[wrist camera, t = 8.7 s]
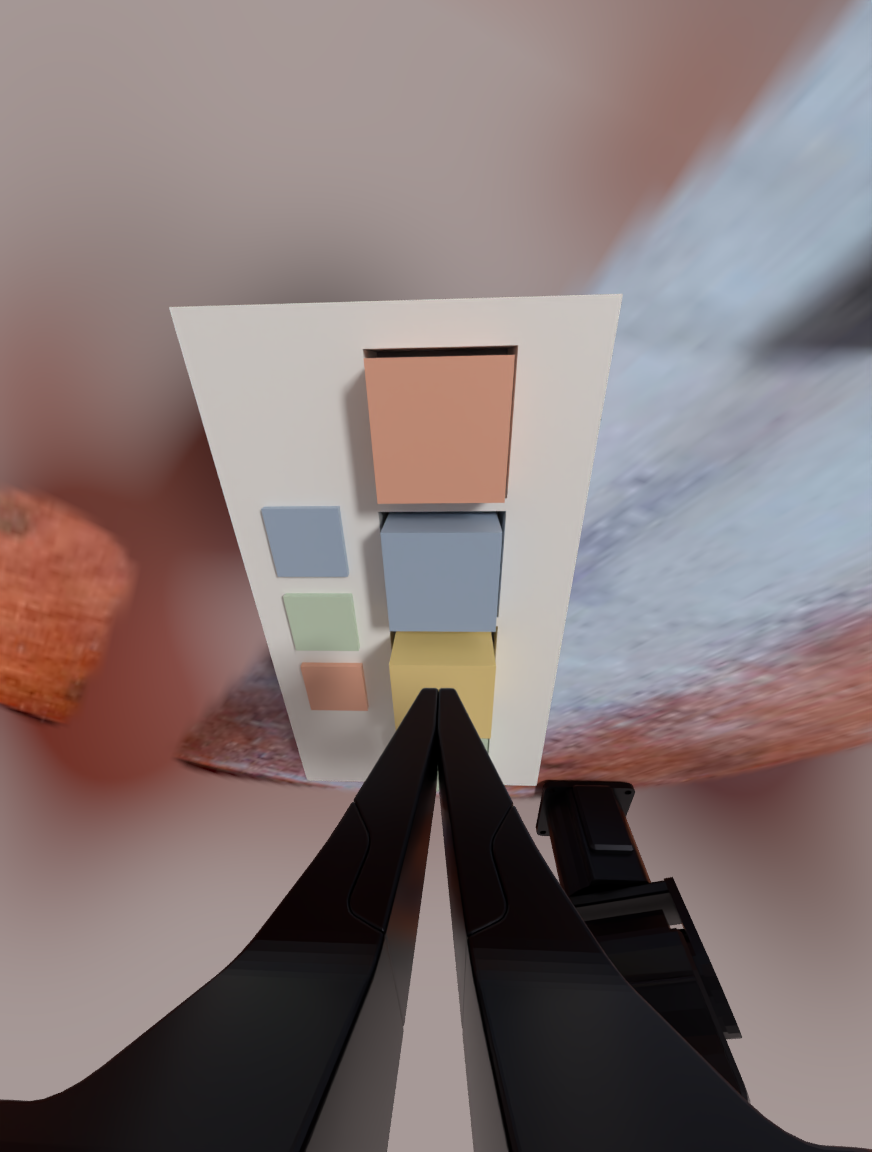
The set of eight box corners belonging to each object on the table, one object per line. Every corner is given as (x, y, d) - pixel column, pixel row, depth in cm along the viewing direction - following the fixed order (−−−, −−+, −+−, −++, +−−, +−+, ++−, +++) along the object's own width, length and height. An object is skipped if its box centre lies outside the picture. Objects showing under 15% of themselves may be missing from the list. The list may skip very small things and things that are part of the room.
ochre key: (484, 683, 21) (490, 738, 18) (404, 682, 21) (396, 736, 18) (488, 616, 19) (496, 665, 15) (399, 616, 19) (388, 664, 16)
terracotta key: (494, 477, 16) (504, 502, 13) (391, 478, 16) (377, 503, 13) (501, 357, 14) (514, 354, 11) (382, 360, 14) (363, 358, 11)
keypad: (526, 735, 26) (537, 790, 23) (324, 731, 27) (305, 785, 23) (585, 310, 15) (626, 292, 11) (227, 320, 15) (162, 305, 12)
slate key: (488, 588, 19) (495, 631, 16) (399, 588, 19) (389, 631, 16) (492, 502, 17) (502, 532, 14) (393, 503, 17) (380, 532, 14)
